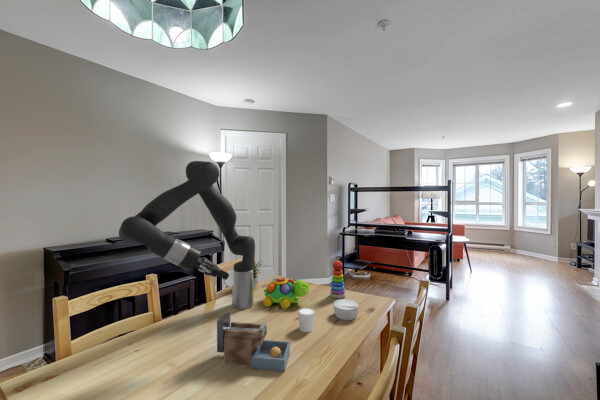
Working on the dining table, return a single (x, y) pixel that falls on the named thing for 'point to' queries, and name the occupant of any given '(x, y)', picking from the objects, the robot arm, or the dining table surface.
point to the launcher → (242, 343)
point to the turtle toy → (284, 292)
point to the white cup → (306, 319)
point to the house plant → (255, 274)
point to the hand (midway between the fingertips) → (227, 276)
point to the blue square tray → (264, 360)
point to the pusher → (224, 324)
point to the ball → (275, 352)
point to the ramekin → (346, 309)
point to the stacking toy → (337, 281)
